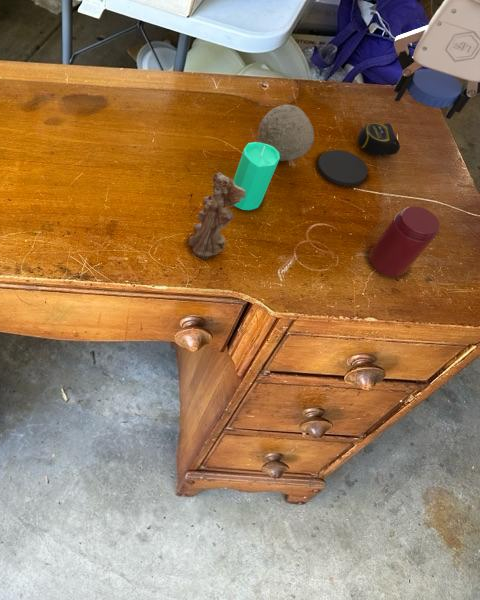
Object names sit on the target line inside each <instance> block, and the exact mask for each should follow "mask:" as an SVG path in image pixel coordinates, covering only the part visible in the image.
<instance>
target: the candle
mask: <svg viewBox="0 0 480 600" xmlns="http://www.w3.org/2000/svg"><path fill="white" fill-rule="evenodd" d="M240 156H241V157H240V160H239V162H238V164H237V167H236V171H235V174H234V176H233V182H235V185H237V186H238V187H240V188H241V187H242V188H243V189H244V190H245V191H246V192H245V193H246V196H245V197H244V198H241V201H240V202H239V203H236V204H235V205H234V206H233V207H236V208H238V209H240V210H244V211H252V210H255V209H258V208H259V207H260V205H261V204H262V202H263V200H264V198H265V195H266V193H267V190H268V187H269V185H270V183H271V181H272V178H273V177H274V173H275V171H276V169H277V167H278V165H279V162H280V161H279V159H280V156H279V152H278V151H277V150H276V149H275V148H274V147H273V146H270V145H268V144H265V143H259V142H258V141H253V142H252V141H251V142H248V143H247V144H246V146H245V147H244V148H243V150H242V154H241V155H240Z"/></svg>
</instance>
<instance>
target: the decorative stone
mask: <svg viewBox="0 0 480 600" xmlns="http://www.w3.org/2000/svg"><path fill="white" fill-rule="evenodd" d="M257 142H259V143H265V144H268V145H270V146H273V147H274V148H275V149H276V150H277V151H278V152H279V156H280V159H279V162H285V161H293V160H296V159H298V158H300V157H302V156H304V155H305V154H307V153H308V152H309V151H310V149H311V148H312V146H313V144H314V143H315V131H314V127H313V124H312V122H311V120H310V118H309V117H308V115H307V114H306V113H305V112H304V110H302V109H301V108H300V107H299V106H296V105H293V104H289V103H288V104H286V103H285V104H281V105H279V106H275V107H273V108H272V109H270V110H269V111H267V113H266V114H265V116H263V118H262V119H261V120H260V123H259V126H258V131H257Z"/></svg>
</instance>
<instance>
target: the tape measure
mask: <svg viewBox="0 0 480 600" xmlns="http://www.w3.org/2000/svg"><path fill="white" fill-rule="evenodd" d="M357 143H358V146H359V147H360V148H361V150H362V151H363V152H365V153H367V154H369V155H372V156H377V157H380V156H392V155H396V154H397V153H398V152H399V150H400V149H401V145H400V142H399V140H398V138H397V136H396V134H395V132H394V129H393V126H392V125H391V123H389V122H388V123H387V122H386V123H385V122H384V123H381V122H370V123H368V124H365V126H363V127H362V128H361V129H360V131H359V133H358V135H357Z"/></svg>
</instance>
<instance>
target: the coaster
mask: <svg viewBox="0 0 480 600" xmlns="http://www.w3.org/2000/svg"><path fill="white" fill-rule="evenodd" d="M317 169H318V171H319V173H320V174H321V176H322V177H324V179H326V180H328V182H331V183H333V184H335V185H339V186H343V187H353V186H357V185H359V184H361V183H363V182H364V181H365V179H366V178H367V176H368V167H367V165H366V163H365V161H364V160H363V159H361V157H359V156H358V155H356V154H354V153H352V152H350V151H346V150H341V149H331V150H328V151H325V152H323V153H322V154H321V155H320V156H319V159H318V160H317Z"/></svg>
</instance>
